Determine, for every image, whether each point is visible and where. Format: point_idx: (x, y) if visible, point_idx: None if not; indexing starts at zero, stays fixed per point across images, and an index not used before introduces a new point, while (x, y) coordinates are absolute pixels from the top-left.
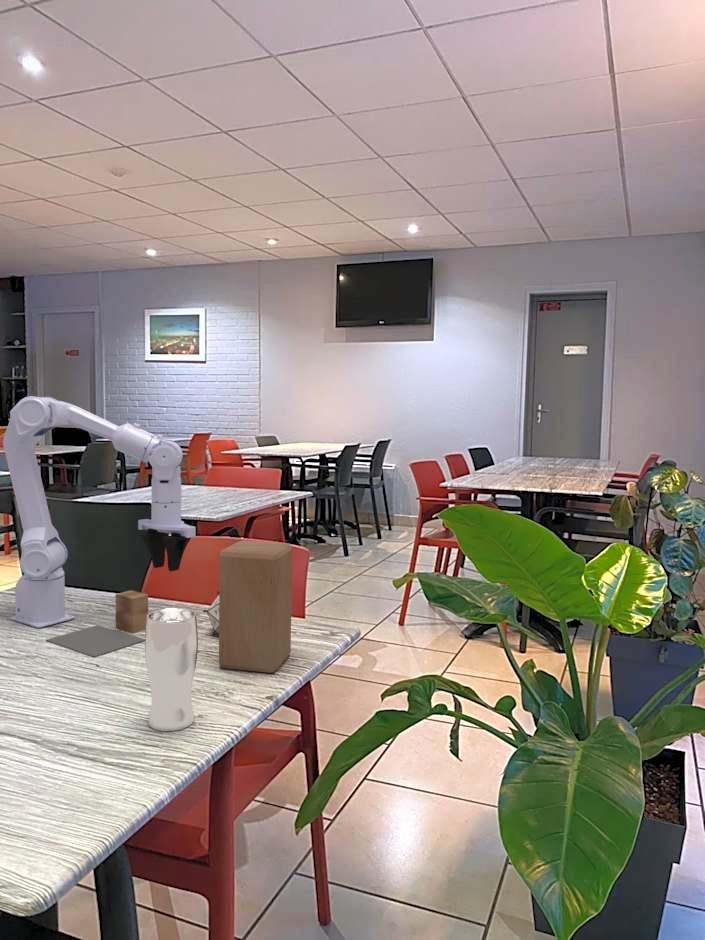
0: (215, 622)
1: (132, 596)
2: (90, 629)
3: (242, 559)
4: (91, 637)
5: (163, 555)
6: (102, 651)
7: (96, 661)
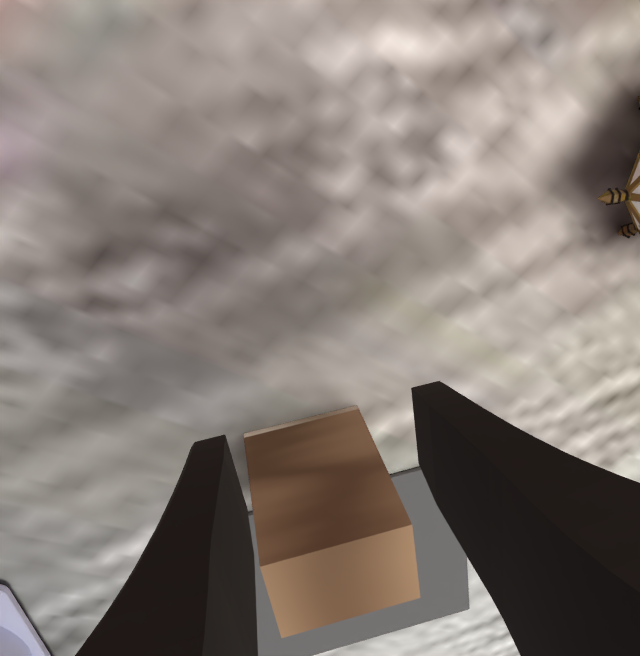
0: None
1: (384, 589)
2: None
3: None
4: None
5: (222, 516)
6: (451, 586)
7: (496, 606)
